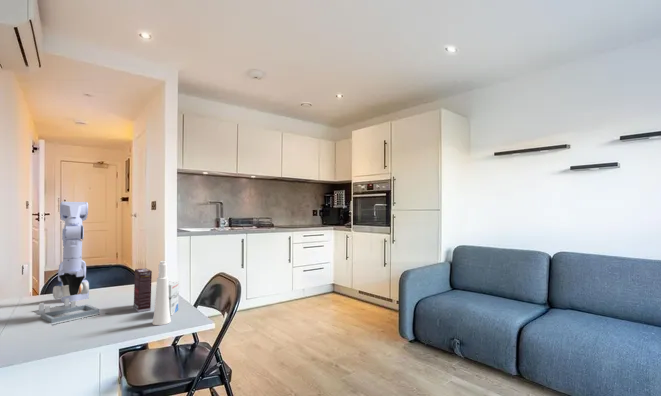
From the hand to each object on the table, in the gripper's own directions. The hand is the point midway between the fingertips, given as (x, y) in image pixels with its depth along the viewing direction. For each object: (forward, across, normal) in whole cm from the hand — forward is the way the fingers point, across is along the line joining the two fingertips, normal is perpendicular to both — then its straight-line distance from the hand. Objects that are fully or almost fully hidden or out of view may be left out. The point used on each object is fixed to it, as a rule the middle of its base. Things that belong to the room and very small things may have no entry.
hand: (71, 293), depth 131 cm
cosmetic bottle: (+9, +34, +16) cm, 39 cm away
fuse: (+1, 0, 0) cm, 1 cm away
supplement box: (+9, +11, +21) cm, 25 cm away
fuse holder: (+9, -13, 0) cm, 16 cm away
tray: (+9, 0, 0) cm, 9 cm away
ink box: (+9, +25, +24) cm, 36 cm away
